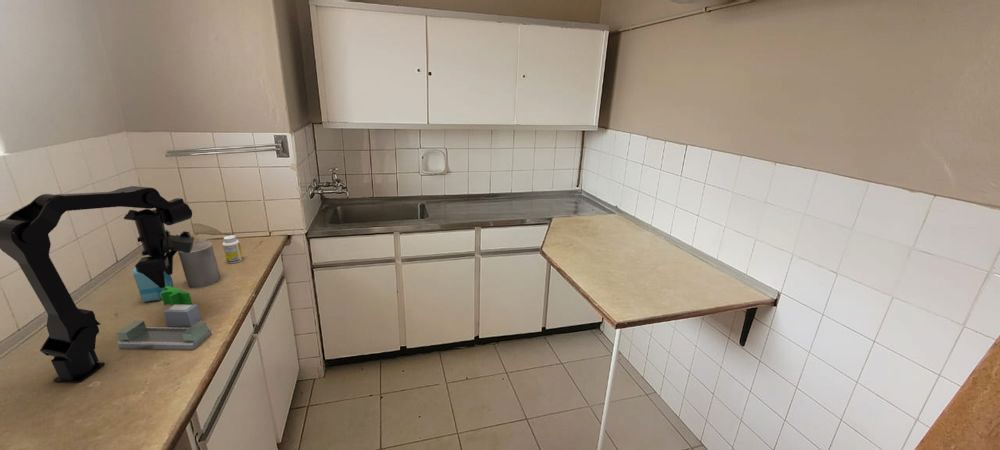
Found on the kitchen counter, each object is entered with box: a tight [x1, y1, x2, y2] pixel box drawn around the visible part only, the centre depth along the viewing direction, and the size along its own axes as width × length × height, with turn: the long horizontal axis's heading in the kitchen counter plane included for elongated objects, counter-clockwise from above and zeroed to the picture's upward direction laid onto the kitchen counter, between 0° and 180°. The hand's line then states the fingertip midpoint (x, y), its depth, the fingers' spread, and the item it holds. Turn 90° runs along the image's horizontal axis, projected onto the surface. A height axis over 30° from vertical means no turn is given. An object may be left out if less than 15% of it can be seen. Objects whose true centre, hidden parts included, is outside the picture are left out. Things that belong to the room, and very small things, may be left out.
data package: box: [132, 267, 174, 303], centre depth 131 cm, size 12×4×12 cm, turn 21°
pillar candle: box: [177, 240, 221, 289], centre depth 139 cm, size 10×10×15 cm
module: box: [162, 304, 202, 327], centre depth 117 cm, size 4×7×5 cm, turn 89°
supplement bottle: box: [222, 234, 244, 264], centre depth 156 cm, size 6×6×10 cm
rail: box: [116, 320, 213, 351], centre depth 109 cm, size 7×20×4 cm, turn 89°
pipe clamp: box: [160, 286, 193, 306], centre depth 127 cm, size 11×4×5 cm, turn 67°
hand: (166, 280), depth 116 cm, fingers open, 9 cm apart
